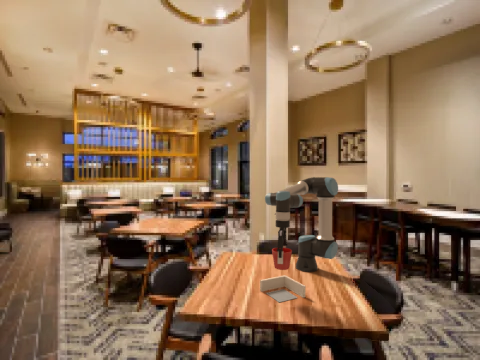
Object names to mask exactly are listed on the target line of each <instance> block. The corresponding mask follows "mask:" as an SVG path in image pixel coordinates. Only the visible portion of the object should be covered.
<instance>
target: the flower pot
mask: <svg viewBox="0 0 480 360" xmlns="http://www.w3.org/2000/svg"><path fill="white" fill-rule="evenodd" d="M279 249H281V248H279ZM276 250H277V247H273V248H272V249H271V252H272V253H271V254H272V259H273V265H274V266H273V267H274V268H275V269H276V270H279V271H287V270H289V269H290V265H291V260H292V253H293V250H292V249H291V248H288V247H286V248H283V264H278V251H276Z"/></svg>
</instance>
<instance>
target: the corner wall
mask: <svg viewBox="0 0 480 360" xmlns="http://www.w3.org/2000/svg"><path fill="white" fill-rule="evenodd" d="M280 288H286V289H288V290H289V291H291V292H293V293H295V295H298V296H300V297H301V298H306V285H305V284H302V283H301V282H299V281H297V280H296V279H293V278H292V277H290V276H288V275H277V276H274V277H269V278H263V279H260V280H259V291H260V292H267V291H271V290H275V289H280Z"/></svg>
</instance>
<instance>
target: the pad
mask: <svg viewBox="0 0 480 360" xmlns="http://www.w3.org/2000/svg"><path fill="white" fill-rule="evenodd" d="M265 294H266V295H268V296H269V297H270V298H271V299H273V300H275V301H276V302H277V303H283V302H287V301H291V300H295V299H298V296H296V295H294V294H293V293H291V292H290V291H288V290H287V289H285V288H282V289H277V290H273V291H269V292H266V293H265Z"/></svg>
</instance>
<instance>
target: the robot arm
mask: <svg viewBox="0 0 480 360" xmlns="http://www.w3.org/2000/svg"><path fill="white" fill-rule="evenodd" d="M338 193H339V185H338V181H337V180H336V179H335V178H334V177H328V176H325V177H322V176H321V177H319V176H317V177H316V176H313V177H308V178H305V179H302V180H300V181H298V182H297V183H296V184H294V185H291V186H289V187H286V188H284V189H281V190H278V191H276V192H268V193H266V194H265V196H264V201H265V204H266V205H268V206H271V207H272V206H273V207H275V213H274V215H275V227H276V228H279V229H278V231H277V232H278V234H277V247H276V248H277V250H276V251H278V264H283V248H287V246H288V243H287V231H288V230H287V229H288V228H290V225H291V224H290V222H291V209H293V208H300V207H301V206H302V205H303V203H304V199H303V195H304V196H305V195H309V194H310V195H316V198H317V200H318V235H317V236H316V235H313V234H306V235H304V234H303V235H300V236H299V237H298V247H297V248H298V253H297V254H298V256H297V260H296V263H295V269H297V270H299V271H300V272H301V271H302V272H308V273H312V272H317V271H318V269H319V267H318V263H317V260H316V257H320V258H322V259H328V260H332V259H334V258H335V257H336V255H337V253H338V250H339V249H338V248H339V245H338V242H336V241H335V237H334V236H333V200H334V199H335V196H336V195H338ZM279 248H281V249H279Z"/></svg>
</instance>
